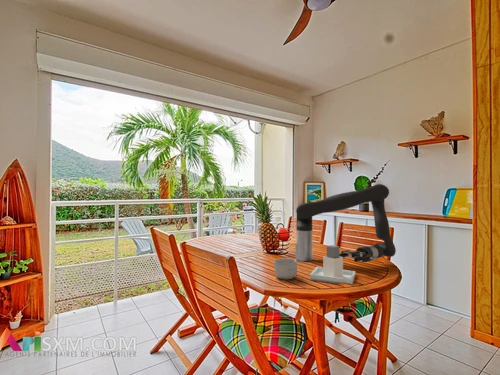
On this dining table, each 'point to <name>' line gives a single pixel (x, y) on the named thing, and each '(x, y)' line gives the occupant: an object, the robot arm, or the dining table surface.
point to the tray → (318, 276)
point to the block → (333, 251)
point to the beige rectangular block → (333, 267)
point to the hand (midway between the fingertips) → (347, 257)
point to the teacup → (285, 268)
